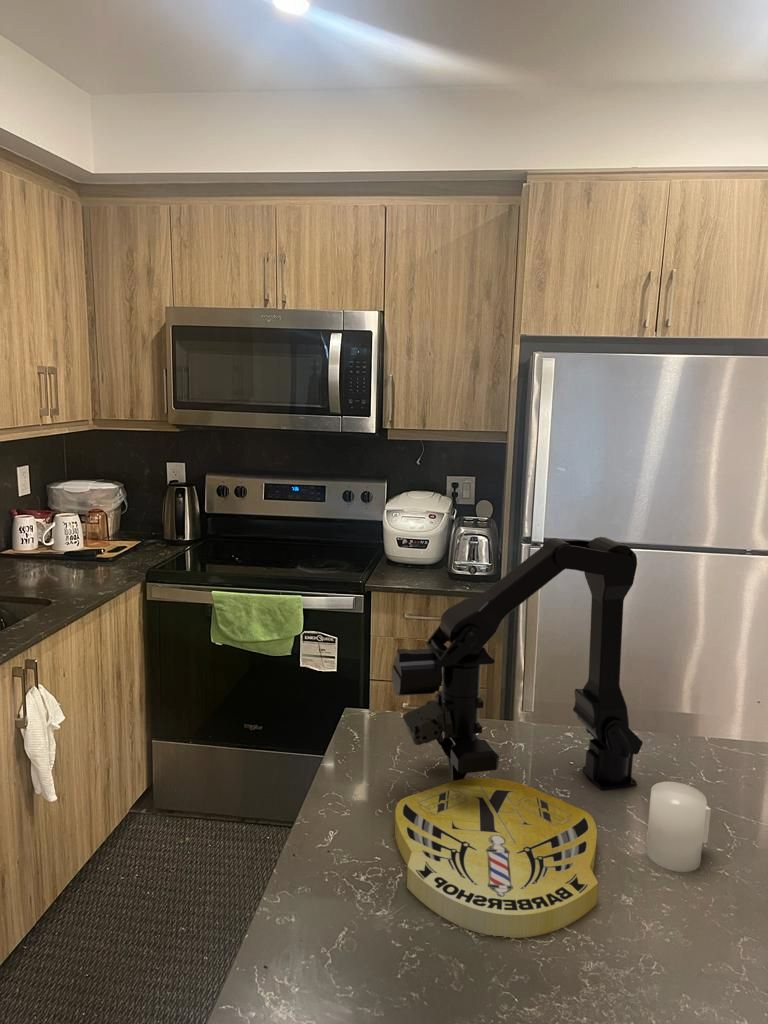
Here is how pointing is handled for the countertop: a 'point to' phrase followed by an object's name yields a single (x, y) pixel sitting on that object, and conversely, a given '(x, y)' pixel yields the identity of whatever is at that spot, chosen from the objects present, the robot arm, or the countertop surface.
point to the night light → (677, 826)
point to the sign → (498, 856)
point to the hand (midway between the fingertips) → (456, 784)
